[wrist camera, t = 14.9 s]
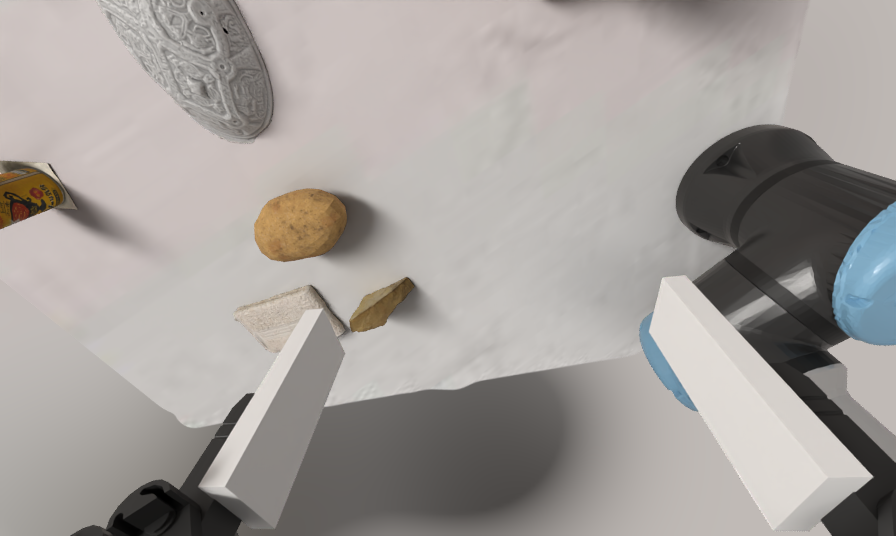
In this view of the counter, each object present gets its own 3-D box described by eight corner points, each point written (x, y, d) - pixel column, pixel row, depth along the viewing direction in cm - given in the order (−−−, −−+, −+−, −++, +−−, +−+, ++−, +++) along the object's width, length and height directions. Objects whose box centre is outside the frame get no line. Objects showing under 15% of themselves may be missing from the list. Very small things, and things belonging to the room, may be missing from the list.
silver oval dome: (141, -164, 29) (63, -199, 24) (311, 116, 43) (285, 132, 38) (51, -67, 34) (-28, -78, 29) (229, 155, 48) (196, 174, 43)
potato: (371, 221, 50) (357, 248, 43) (300, 253, 54) (277, 282, 47) (332, 163, 45) (309, 183, 39) (258, 202, 49) (225, 227, 43)
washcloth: (235, 306, 62) (225, 317, 60) (311, 279, 58) (304, 290, 55) (275, 347, 68) (268, 358, 66) (348, 326, 64) (343, 337, 61)
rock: (409, 269, 52) (346, 278, 52) (414, 323, 49) (348, 332, 49) (417, 287, 62) (365, 295, 62) (422, 333, 59) (367, 340, 59)
